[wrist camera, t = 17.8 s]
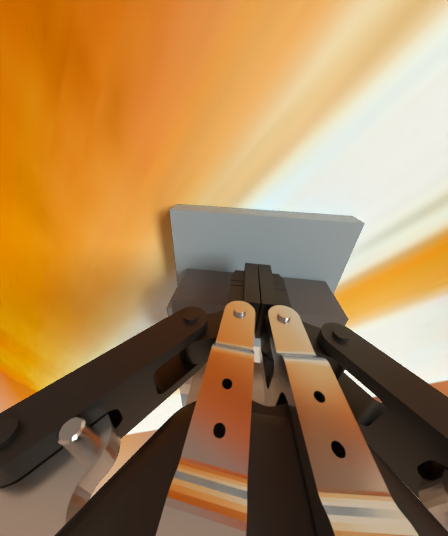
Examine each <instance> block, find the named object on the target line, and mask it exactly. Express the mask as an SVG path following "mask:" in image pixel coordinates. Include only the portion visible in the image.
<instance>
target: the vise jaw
mask: <svg viewBox="0 0 448 536" xmlns="http://www.w3.org/2000/svg"><path fill="white" fill-rule="evenodd" d="M231 275H232V272H222V271H211V270H200V269H190V268H188V269H187V271H186V273H185V274H184V276H183V278H182V280H181V282H180V284H179V286H178V288H177V289H176V291H175V293H174V295H173V297H172V299H171V301H170V303H169V305H168V306H167V313H168V317H169V316H170V315H172V314H174V313H176V312H177V311H179V310H181V309H183V308H185V307H190V306H194V307H199V308H201V309H203V310H204V311H205V312H206V314H211V313H217V312H219V311H221V310H223V309H224V308H225V307H226V305H227V303H228V297H229V290H230V282H231ZM282 278H283V279H284V283H285V286H286V291H287V293H288V297H289V300H290V304H291V308H292V309H293V310H295V311H296V312H297V313H298V315H299V316H300V319H301V320H302V321H303V322H305V323H308V324H310V325H313V326H316V327H319V328H321V327H322V326H323V325H324V324H325V323H330V322H332V323H338V324H341V325H343V326H345V324H346V323H347V321H348V318H347V316H346V315H345V313H344V311H343V310H342V308H341V306H340V305H339V303H338V301H337V300H336V298H335V296H334V295H333V293H332V291H331V290H330V288H329V286H328V285H327V283H326V281H317V280H306V279H296V278H285V277H282ZM260 346H261V340H260V339H259V338H255V334H254V345H253V351H254V362H257V363H260V355H259V350H260Z"/></svg>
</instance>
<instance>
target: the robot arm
mask: <svg viewBox="0 0 448 536" xmlns="http://www.w3.org/2000/svg"><path fill="white" fill-rule="evenodd" d="M254 334H255V338H259V339H260V340H261V346H260V350H259V355H260V363H261V370H262V377H263V385H264V393H265V400H264V405H262V404H260V403H257V402H255V401H253V400H252V389H253V371H254V351H253V345H254ZM206 362H207V366H206V369H205V373H204V376H203V380H202V383H201V387H200V390H199V394H198V398H197V401H194V402H192V403H190V404H187V405H186V406H184V407H183V408H181V409H180V410H178V411H177V412H176V413H175V414H173V415H172V416H171V417H170V418H169V419H168V420H167V421H166V422H165V423H164V424H163V425H162V426H161V427H160V428H159V429H158V430H157V432H155V434H153V436H152V437H151V438H150V439H149V440H148V441H147V442H146V443H145V444H144V445H143V446H142V447H141V448H140V449H139V450H138V451H137V452H136V453H135V454H134V455H133V456H132V457H131V458H130V459H129V460H128V461H127V462H126V463H125V464H124V465H123V466H122V467H121V468H120V469H119V470H118V471H117V472H116V473H115V474H114V475H113V476H112V477H111V478H110V479H109V480H108V482H106V483H105V484H104V486H102V487H101V489H99V491H98V492H97V493H96V494H95V495H94V496H93V497H92V498H91V499H90V497H91V494H92V493H93V491H94V489H95V488H96V486H97V485H98V484H99V482H100V481H101V480H102V479H103V478H104V476H105V475H106V474H107V473H108V472H109V470H110V469H111V467H112V466H113V464H114V463H115V461H116V458H117V456H118V453H119V449H120V439H121V438H122V437H123V436H125V435H126V434H127V433H128V432H129V431H130V430H131V429H133V428H134V427H135V426H136V425H137V424H138V423H139V422H141V421H142V420H143V419H144V418H145V417H146V416H147V415H149V414H150V413H151V412H152V411H153V410H154V409H155V408H157V407H158V406H159V405H160V404H161V403H162V402H163V401H165V400H166V399H167V398H168V397H169V396H170V395H171V394H173V393H174V392H175V391H176V390H177V389H178V388H179V387H180V386H182V385H183V384H184V383H185V382H186V381H187V380H188V379H190V378H191V377H192V376H193V375H194V374H195V373H196V372H198V371H199V370H200V369H201V368H202V367H203V366H204V365H205V364H206ZM345 369H346V370H347V371H348V372H349V373H350V374H352V375H353V376H354V377H355V378H356V379H357V380H359V381H360V382H361V383H362V384H363V385H364V386H366V387H367V388H368V389H369V390H370V391H371V392H373V393H374V394H375V395H376V396H377V397H378V398H379V399H380V400H381V401H382V403H380V402H378V401H376V400H374V399H373V398H372V397H371V396H370V395H369V394H368V393H366V392H365V391H364V390H363V389H362V388H361V387H360V386H358V385H357V384H356V383H355V382H354V381H353V380H352V379H351V378H349V377H348V376H347V375H346V374H345V373H344V370H345ZM402 481H403V482H404V483H405V484H406V485H407V486H408V487H409V488H408V487H407V486H406V485H405V484H404V483H403V482H402ZM412 492H413V493H414V494H415V495H416V496H417V497H418V498H419V499H420V500H419V499H418V498H417V497H416V496H415V495H414V494H413V493H412ZM89 499H90V500H89ZM0 536H448V397H447V396H445V395H444V394H442V393H441V392H439V391H438V390H437V389H435V388H433V387H432V386H430V385H429V384H428V383H426V382H425V381H424V380H422V379H421V378H419V377H418V376H416V375H415V374H413V373H412V372H411V371H409V370H408V369H406V368H405V367H403V366H402V365H401V364H399V363H398V362H396V361H395V360H393V359H392V358H390V357H389V356H388V355H386V354H385V353H383V352H382V351H380V350H379V349H378V348H376V347H375V346H373V345H372V344H370V343H369V342H367V341H366V340H365V339H363V338H362V337H360V336H359V335H357V334H356V333H354V332H353V331H352V330H350V329H349V328H347V327H345V326H343V325H341V324H338V323H332V322H330V323H325V324H324V325H323V326H322V327H321V328H319V327H316V326H313V325H310V324H308V323H305V322H303V321H302V320H301V319H300V316H299V315H298V313H297V312H296V311H295V310H293V309H292V308H291V304H290V300H289V297H288V293H287V291H286V286H285V283H284V279H283V278H282V277H281V276H280V275H279V274H274V273H272V270H271V265H265V264H258V265H257V264H254V263H245V267H244V271H242V270H235V271H234V272H233V273H232V275H231V282H230V290H229V297H228V303H227V305H226V307H225V308H224V309H223V310H221V311H219V312H217V313H211V314H206V312H205V311H204V310H203V309H201V308H199V307H194V306H190V307H185V308H183V309H181V310H179V311H177V312H176V313H174V314H172V315H170V316H169V317H167V318H165V319H163V320H162V321H160V322H158V323H156V324H155V325H153V326H151V327H150V328H148V329H146V330H144V331H143V332H141V333H139V334H137V335H136V336H134V337H132V338H130V339H129V340H127V341H125V342H123V343H122V344H120V345H118V346H116V347H115V348H113V349H111V350H109V351H108V352H106V353H104V354H102V355H101V356H99V357H97V358H96V359H94V360H92V361H90V362H89V363H87V364H85V365H83V366H82V367H80V368H78V369H76V370H75V371H73V372H71V373H69V374H68V375H66V376H64V377H62V378H61V379H59V380H57V381H55V382H54V383H52V384H50V385H48V386H47V387H45V388H43V389H42V390H40V391H38V392H36V393H35V394H33V395H31V396H30V397H28V398H26V399H24V400H22V401H21V402H19V403H17V404H15V405H14V406H12V407H10V408H8V409H7V410H5V411H3V412H2V413H0Z"/></svg>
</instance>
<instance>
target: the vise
mask: <svg viewBox="0 0 448 536" xmlns="http://www.w3.org/2000/svg"><path fill="white" fill-rule="evenodd" d="M169 210H170V219H171V228H172V237H173V246H174V255H175V264H176V273H177V282H178V286H179V284H180V282H181V280H182V278H183V276H184V274H185V273H186V271H187V269H188V268H190V269H200V270H211V271H222V272H232V273H233V272H234V271H235V270H242V271H244V267H245V263H254V264H257V265H258V264H265V265H271V270H272V273H274V274H279V275H280V276H281V277H285V278H296V279H306V280H317V281H326V283H327V285H328V286H329V288H330V290H331V291H332V293H333V294H334V291H335V289H336V287H337V285H338V282H339V280H340V278H341V276H342V273H343V271H344V269H345V266H346V264H347V262H348V260H349V257H350V255H351V253H352V251H353V248H354V246H355V244H356V241H357V239H358V237H359V235H360V232H361V230H362V228H363V226H364V223H363V222H362V221H360V220H358V219H357V218H355V217H353V216H343V215H328V214H314V213H299V212H285V211H270V210H255V209H241V208H226V207H212V206H197V205H182V204H177V205H175V206H174V207H172V208H171V209H169ZM192 378H193V376H192V377H191V378H190V379H188V380H187V381H186V382H185V383H184V384H183V385H182V386H180V393H181V399H182V406H183V407H184V406H186V402H187V398H188V394H189V390H190V386H191V382H192Z"/></svg>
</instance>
